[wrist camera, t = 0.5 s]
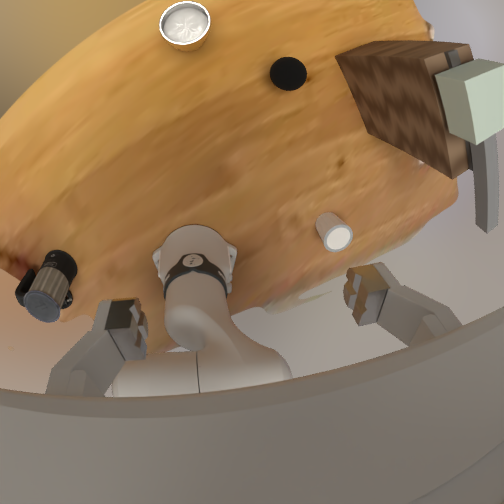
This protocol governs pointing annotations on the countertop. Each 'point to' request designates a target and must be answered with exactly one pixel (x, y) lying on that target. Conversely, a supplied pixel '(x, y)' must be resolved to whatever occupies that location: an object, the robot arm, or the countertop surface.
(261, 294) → the countertop surface
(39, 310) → the milk frother
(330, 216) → the white short cylinder
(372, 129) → the walnut stand
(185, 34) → the beer glass
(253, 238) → the countertop surface
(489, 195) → the grey mallet
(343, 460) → the robot arm
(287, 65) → the light bulb
